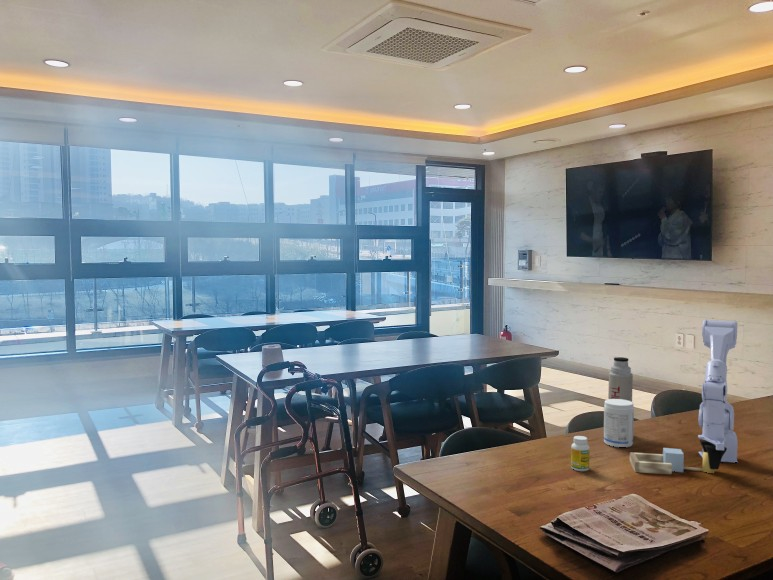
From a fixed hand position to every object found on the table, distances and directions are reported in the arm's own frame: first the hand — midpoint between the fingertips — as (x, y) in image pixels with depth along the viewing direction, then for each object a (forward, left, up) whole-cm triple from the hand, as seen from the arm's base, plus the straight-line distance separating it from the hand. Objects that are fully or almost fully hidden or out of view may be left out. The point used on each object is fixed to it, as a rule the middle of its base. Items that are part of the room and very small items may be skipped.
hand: (712, 466), depth 188 cm
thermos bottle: (+21, -34, -2) cm, 40 cm away
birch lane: (+17, 0, -2) cm, 17 cm away
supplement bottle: (+38, +5, -2) cm, 39 cm away
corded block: (+6, 0, -2) cm, 7 cm away
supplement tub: (+23, -23, -2) cm, 33 cm away
